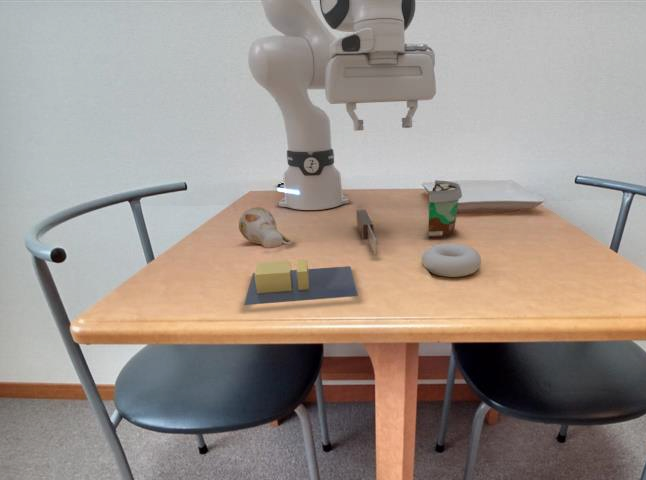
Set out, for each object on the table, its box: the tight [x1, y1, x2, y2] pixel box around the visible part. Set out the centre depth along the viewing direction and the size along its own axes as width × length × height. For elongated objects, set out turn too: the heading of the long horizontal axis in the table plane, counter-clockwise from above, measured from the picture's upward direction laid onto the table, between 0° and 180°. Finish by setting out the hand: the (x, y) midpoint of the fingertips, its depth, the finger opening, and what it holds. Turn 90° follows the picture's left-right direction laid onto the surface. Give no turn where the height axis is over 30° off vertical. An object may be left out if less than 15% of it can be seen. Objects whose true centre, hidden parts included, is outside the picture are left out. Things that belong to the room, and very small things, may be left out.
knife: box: [356, 209, 377, 255], centre depth 87 cm, size 21×2×4 cm, turn 9°
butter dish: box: [243, 259, 359, 306], centre depth 66 cm, size 12×16×4 cm
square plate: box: [421, 179, 546, 214], centre depth 116 cm, size 27×27×4 cm
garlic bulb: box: [238, 206, 293, 249], centre depth 85 cm, size 8×10×10 cm
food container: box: [427, 179, 462, 240], centre depth 90 cm, size 12×6×10 cm, turn 168°
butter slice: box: [296, 258, 309, 290], centre depth 66 cm, size 5×2×3 cm, turn 10°
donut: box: [421, 243, 482, 278], centre depth 73 cm, size 10×4×10 cm
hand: (383, 129), depth 81 cm, fingers open, 8 cm apart
